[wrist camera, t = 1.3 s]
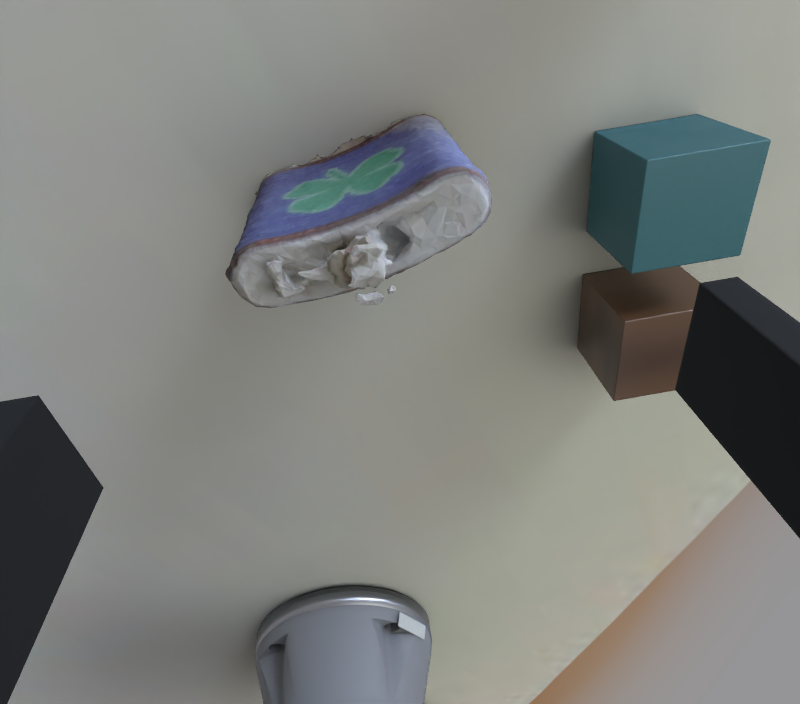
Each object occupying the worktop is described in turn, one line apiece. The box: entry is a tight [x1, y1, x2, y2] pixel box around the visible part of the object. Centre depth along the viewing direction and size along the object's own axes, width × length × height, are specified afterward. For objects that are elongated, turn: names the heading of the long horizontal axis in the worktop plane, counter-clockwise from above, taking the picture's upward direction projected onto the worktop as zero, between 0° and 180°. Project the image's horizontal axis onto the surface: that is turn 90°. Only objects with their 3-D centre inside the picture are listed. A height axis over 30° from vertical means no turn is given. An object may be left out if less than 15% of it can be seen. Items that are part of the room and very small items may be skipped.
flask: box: [225, 114, 492, 308], centre depth 20 cm, size 9×3×11 cm, turn 109°
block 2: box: [577, 266, 700, 401], centre depth 28 cm, size 5×5×5 cm
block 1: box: [587, 114, 771, 274], centre depth 24 cm, size 5×5×5 cm
